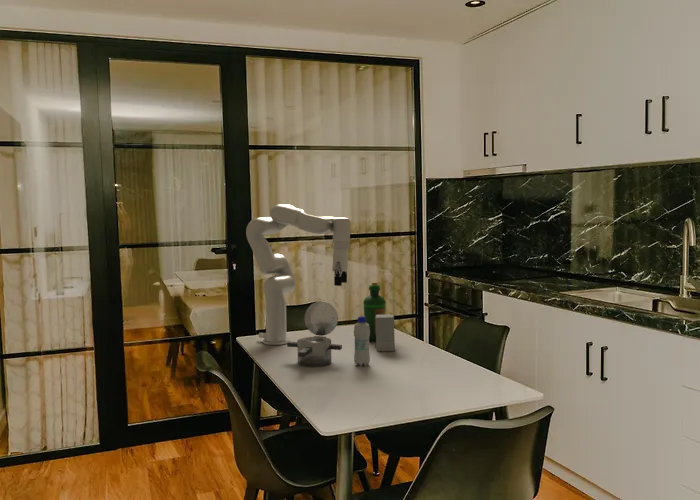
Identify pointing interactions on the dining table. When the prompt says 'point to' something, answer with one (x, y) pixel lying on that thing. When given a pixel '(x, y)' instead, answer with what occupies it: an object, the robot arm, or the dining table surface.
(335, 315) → the lid
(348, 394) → the dining table surface
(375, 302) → the bottle
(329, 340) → the cooker
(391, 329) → the skincare box
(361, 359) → the bottle
